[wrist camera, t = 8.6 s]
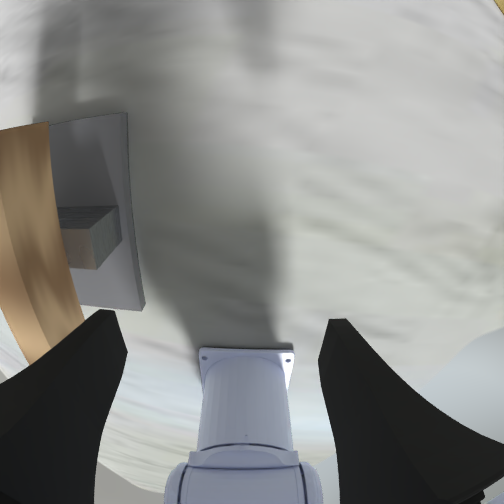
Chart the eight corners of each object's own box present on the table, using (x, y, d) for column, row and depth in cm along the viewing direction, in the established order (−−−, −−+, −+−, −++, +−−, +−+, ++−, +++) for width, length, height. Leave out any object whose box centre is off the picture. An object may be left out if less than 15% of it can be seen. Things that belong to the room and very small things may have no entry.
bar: (93, 342, 17) (70, 385, 13) (59, 335, 17) (35, 374, 13) (48, 121, 11) (-6, 131, 7) (12, 131, 11) (-39, 144, 7)
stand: (145, 303, 21) (125, 347, 17) (64, 295, 21) (36, 331, 17) (127, 112, 15) (87, 114, 11) (34, 129, 15) (-12, 140, 11)
